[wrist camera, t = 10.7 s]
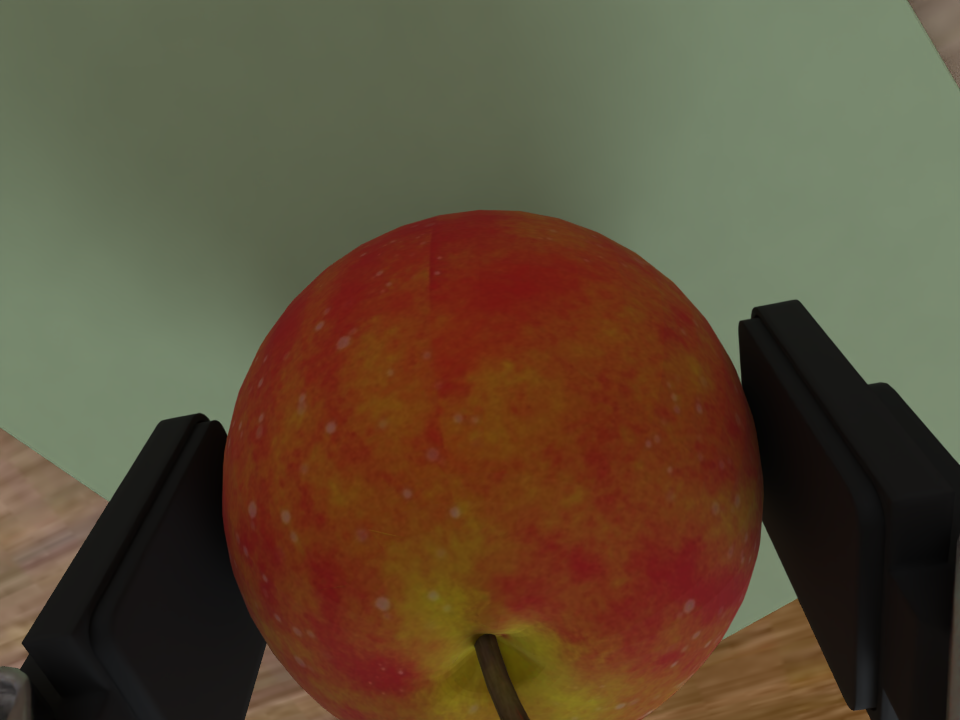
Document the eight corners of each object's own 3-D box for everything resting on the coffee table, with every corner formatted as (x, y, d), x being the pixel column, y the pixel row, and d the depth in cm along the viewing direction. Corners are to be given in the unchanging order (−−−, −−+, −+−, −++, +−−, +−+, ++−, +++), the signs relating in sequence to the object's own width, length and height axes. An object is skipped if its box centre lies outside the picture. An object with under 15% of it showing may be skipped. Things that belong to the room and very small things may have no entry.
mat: (-194, 264, 14) (-221, 279, 13) (488, -676, 8) (489, -714, 8) (495, 744, 20) (495, 766, 20) (1124, 388, 15) (1147, 405, 14)
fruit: (353, 525, 16) (254, 1005, 9) (229, 197, 13) (-82, 558, 6) (702, 469, 15) (888, 941, 8) (670, 105, 12) (941, 387, 5)
